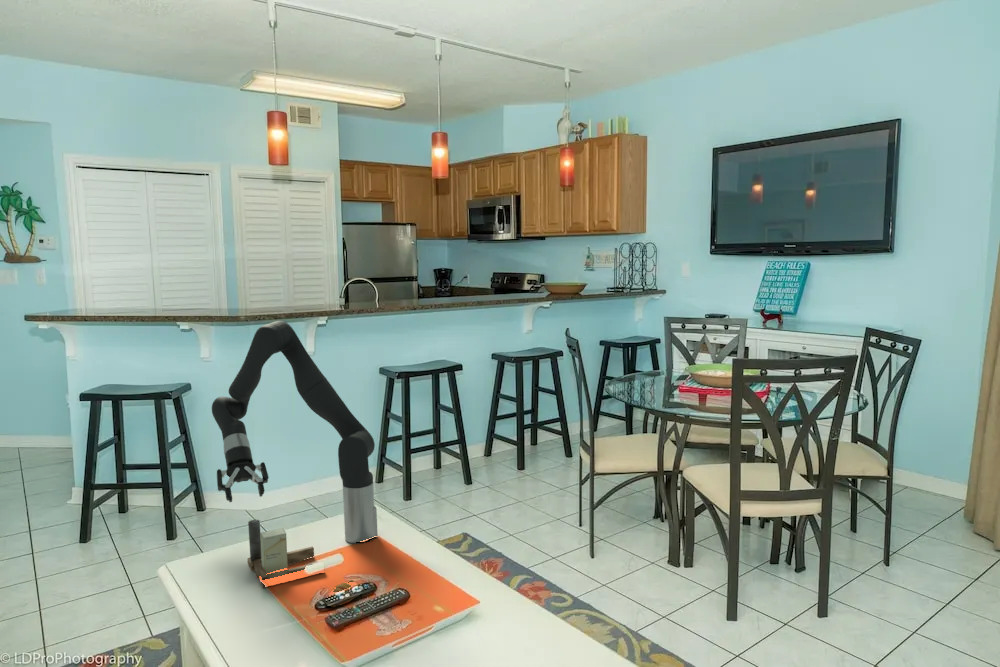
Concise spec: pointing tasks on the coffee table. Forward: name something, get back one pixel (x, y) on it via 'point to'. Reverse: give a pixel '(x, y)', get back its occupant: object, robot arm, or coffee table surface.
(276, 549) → the skincare box
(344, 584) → the pastry
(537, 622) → the coffee table surface
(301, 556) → the brown frame
